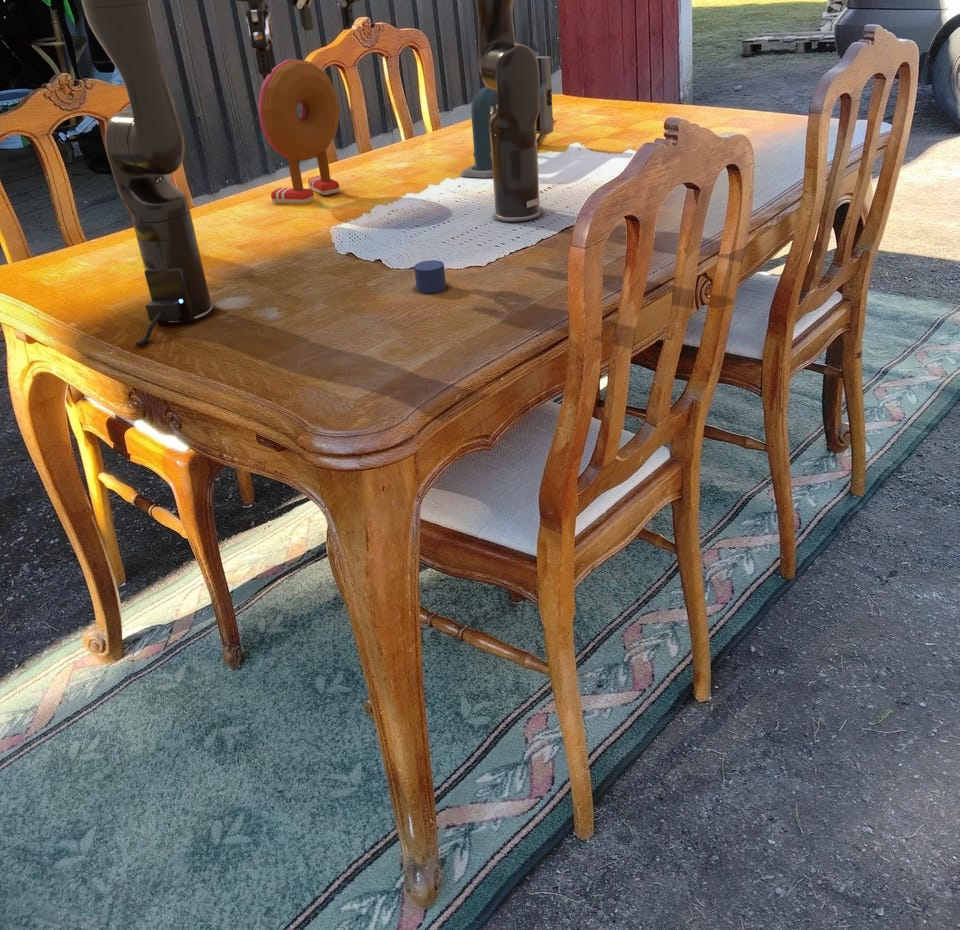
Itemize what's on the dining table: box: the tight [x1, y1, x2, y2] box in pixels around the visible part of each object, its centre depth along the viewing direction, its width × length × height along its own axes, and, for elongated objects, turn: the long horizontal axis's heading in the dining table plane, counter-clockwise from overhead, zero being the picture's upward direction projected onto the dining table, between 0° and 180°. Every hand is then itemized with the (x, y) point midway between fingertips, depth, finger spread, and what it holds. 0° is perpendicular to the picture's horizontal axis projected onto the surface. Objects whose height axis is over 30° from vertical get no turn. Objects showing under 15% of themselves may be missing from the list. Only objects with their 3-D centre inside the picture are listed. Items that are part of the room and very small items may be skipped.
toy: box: [257, 58, 341, 205], centre depth 218 cm, size 21×10×30 cm, turn 141°
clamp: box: [460, 55, 554, 179], centre depth 237 cm, size 35×9×21 cm, turn 151°
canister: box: [413, 259, 447, 294], centre depth 166 cm, size 5×5×4 cm
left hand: (267, 70), depth 171 cm, fingers open, 8 cm apart
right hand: (328, 29), depth 182 cm, fingers open, 8 cm apart
